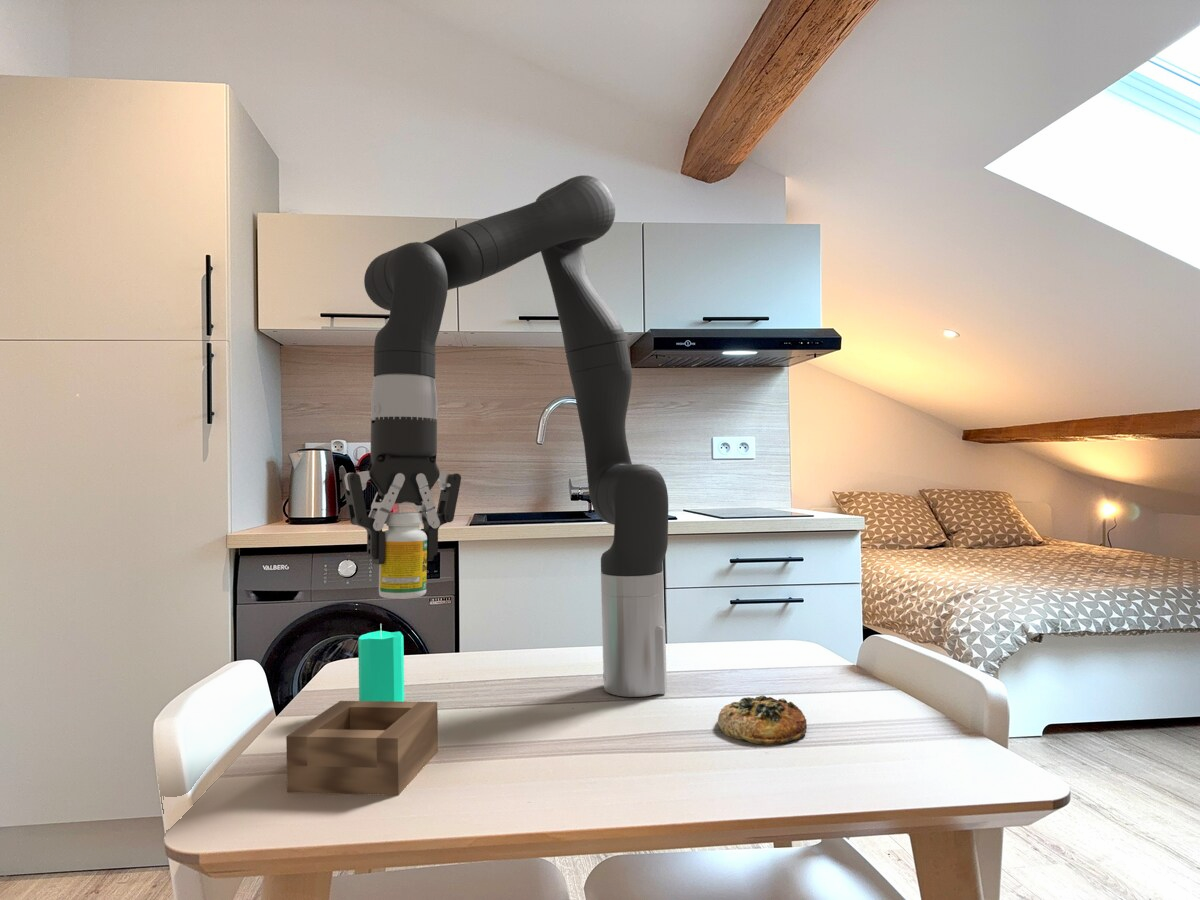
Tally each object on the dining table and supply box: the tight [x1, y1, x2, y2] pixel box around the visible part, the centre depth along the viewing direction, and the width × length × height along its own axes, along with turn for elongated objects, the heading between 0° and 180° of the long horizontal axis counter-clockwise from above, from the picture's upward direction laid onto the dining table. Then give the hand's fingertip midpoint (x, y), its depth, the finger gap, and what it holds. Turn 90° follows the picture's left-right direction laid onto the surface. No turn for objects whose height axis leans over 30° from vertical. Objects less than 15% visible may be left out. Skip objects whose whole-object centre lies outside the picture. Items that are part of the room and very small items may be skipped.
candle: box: [357, 623, 405, 702], centre depth 103 cm, size 6×6×12 cm
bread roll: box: [717, 694, 808, 746], centre depth 92 cm, size 11×11×5 cm
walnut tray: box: [285, 700, 439, 796], centre depth 82 cm, size 12×12×6 cm
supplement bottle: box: [378, 511, 428, 600], centre depth 87 cm, size 5×5×10 cm
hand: (402, 561), depth 87 cm, fingers closed on supplement bottle, 5 cm apart
